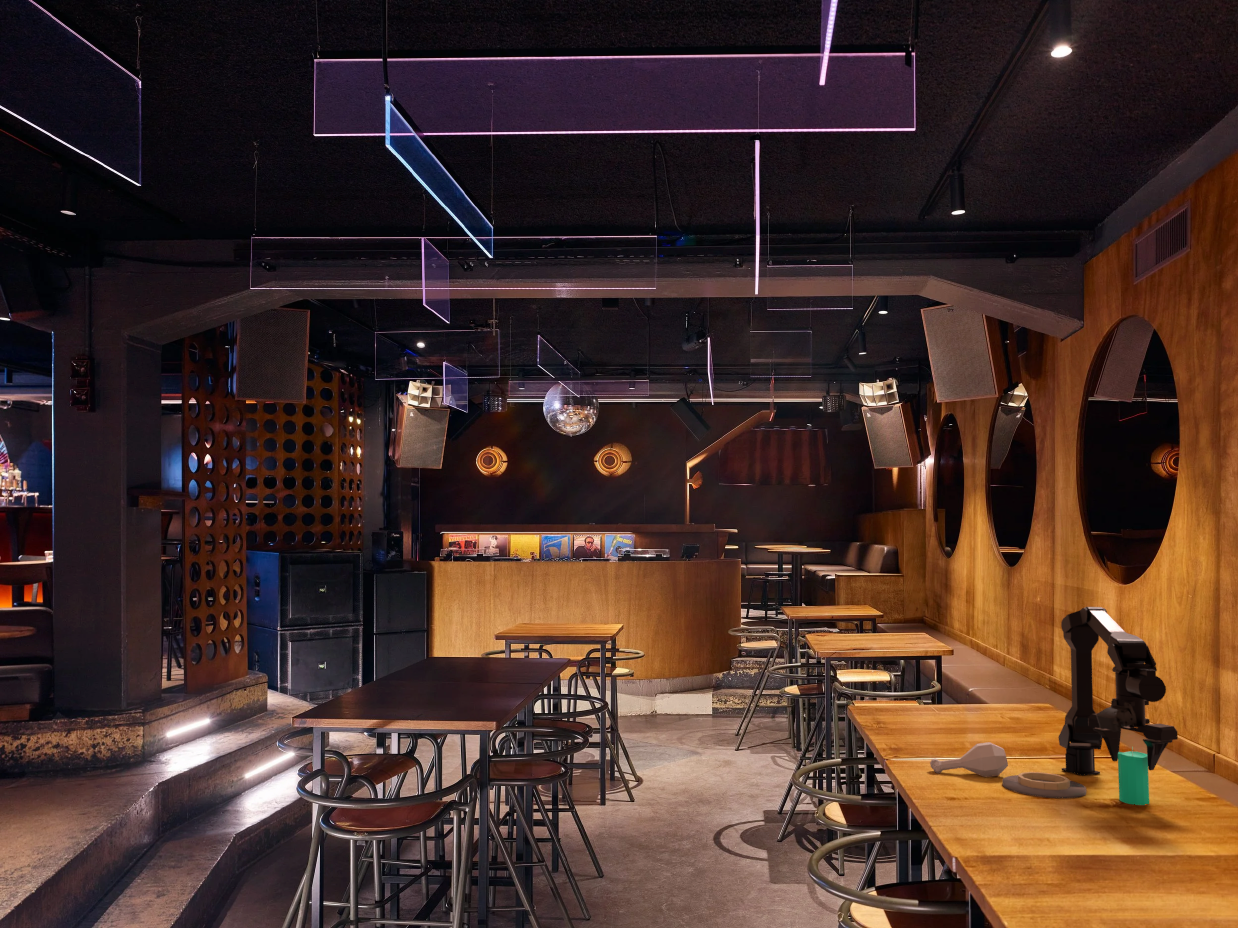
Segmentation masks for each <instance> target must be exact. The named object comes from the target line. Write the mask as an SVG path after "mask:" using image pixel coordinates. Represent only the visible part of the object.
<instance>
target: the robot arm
mask: <svg viewBox="0 0 1238 928" xmlns="http://www.w3.org/2000/svg"><path fill="white" fill-rule="evenodd" d="M1060 626H1061V631H1062V633H1063V639H1064V640H1065V642H1066V643H1067V645H1068V646H1069V648H1070V670H1071V672H1070V673H1071V676H1070V677H1071V679H1070V680H1071V682H1070V683H1071V707H1070V708H1069V710H1068V711H1067V713H1066V714H1065V717H1064V723H1063V726H1062V728H1061V730H1060V732H1059V735H1058V743H1059V746H1060V747H1062V748H1064V749H1065V758H1064V759H1065V767H1063V768H1061V771H1063V772H1067V773H1070V774H1074V775H1079V776H1082V777H1083V776H1091V775H1100V774H1101V771H1098V770H1096V769H1095V767H1096V766H1095V764H1096V763H1095V760H1096V759H1095V750H1099V751H1100V750H1101V749H1102V744H1103V741H1104V743H1105V745H1106V748H1107V750H1108V753H1109V756H1110V757H1111V760H1112V762H1114V763H1115V762H1118V752H1120V746H1121V737H1122V736H1121V735H1122V730H1127V731H1132V732H1135V733H1136V732H1137V733H1140V734H1143V736H1144V737H1145V738H1143V739H1142V741H1143V743H1144V744H1145V746H1146V754H1147V760H1148V771H1154V770H1155V768H1156V766H1157V763H1158V761H1159V760H1160V757H1161V756H1162V754H1163V752H1164V751H1165V749H1166V747H1167V746H1168V744H1169V743H1173V741H1176V740H1178V739H1179V738H1178V730H1177V728H1176V727H1175V726H1174V725H1169V724H1164V723H1150V718H1146V706H1149V705H1150V703H1157V702H1160V701H1161V700H1162V699H1163V698H1164V697H1165V695H1166V693H1167V686H1166V685H1165V682H1164V681H1163V680H1162V678H1160V677H1159V676H1157V675H1156V674H1157V671H1158V669H1157V662H1156V660H1155V659H1154V657H1153V654H1152V653H1151V651H1150V648H1149V646H1148V644H1147V643H1146V642H1145V640H1143V639H1142V638H1140V637H1139V636H1137V635H1135V634H1131V633H1128V632H1126V631H1125V630H1124V629H1123V628H1122V627H1121V626H1120V625H1119V624H1118V623H1117V622H1116V621H1115V620H1114V619H1113V618H1112V617H1111V616H1110V615H1109V614H1108V611H1107V609H1106V608H1105V607H1102V606H1085V607H1083V608H1081V609H1080V610H1078V611H1073V612H1071V613H1069V614H1066V616H1064V617H1063V618H1062V620H1061V624H1060ZM1100 639H1102V641H1103V642H1104V643H1105V644H1106V646H1107V652H1106V653H1107V655H1108V657H1109V659H1110V661H1111V662H1112V664H1113V665H1114V666H1113V667H1112V669H1111V671H1112V672H1114V676H1115V698H1111V701H1110V703H1111V705H1110V706H1109V707H1106V708H1104V709H1102V710H1101V711H1099V712H1096V711H1095V710H1094V702H1093V701H1094V699H1093V696H1094V695H1093V691H1094V690H1093V650H1094V648H1095V647H1096V645H1097V644H1098V642H1099V640H1100Z"/></svg>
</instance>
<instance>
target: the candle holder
mask: <svg viewBox="0 0 1238 928" xmlns="http://www.w3.org/2000/svg"><path fill="white" fill-rule="evenodd" d="M1001 782H1002V786H1003V787H1004V788H1005V789H1006V790H1009V791H1011V792H1015V793H1018V794H1022V795H1027V796H1032V797H1037V798H1038V797H1039V798H1048V799H1050V798H1051V799H1075V798H1081V797H1084V796H1086V795H1087V786H1085V785H1084V784H1081V783H1080V782H1077V781H1073V780H1070V779H1069V778H1067V777H1066V776H1064V775H1059V774H1056V773H1048V772H1042V771H1041V772H1039V771H1036V772H1035V771H1027V772H1020V773H1019V774H1015V775H1010V776H1005V777H1003V778H1002V781H1001Z"/></svg>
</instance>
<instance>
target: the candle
mask: <svg viewBox="0 0 1238 928" xmlns="http://www.w3.org/2000/svg"><path fill="white" fill-rule="evenodd" d="M1117 768H1118V769H1117V771H1118V772H1117V773H1118V775H1117V776H1118V794H1119V795H1118V798H1119V799H1118V800H1119V801H1120V802H1122V803H1125V804H1128V805H1134V804H1135V805H1136V806H1146V805H1145V804H1148V805H1150V783H1149V782H1150V781H1149V780H1150V779H1149V768H1148V760H1147V753H1144V752H1140V751H1135V750H1134V747H1133V746H1132V747H1131V750H1130V751H1125V752H1122V751H1119V752H1118V760H1117Z"/></svg>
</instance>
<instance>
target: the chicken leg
mask: <svg viewBox="0 0 1238 928" xmlns="http://www.w3.org/2000/svg"><path fill="white" fill-rule="evenodd" d="M1008 763H1009V762H1008V758H1007V755H1006V751H1005V749H1004V748H1003V747H1001V746H999V745H996V744H995V743H992V742H991V741H990V742H989V741H988V742H987V741H986V742H980V743H976V744H975V745H973V746H972V748H970V749H969V750H968V751H966V753H964V754H963V755H962V756H961V757H960V758H952V759H943V760H939V759H938V758H931V760H930V762H929V764H930V765H929V766H930V768H931V769H932V770H933V772H935V773H936V774H940V773H942V772H943V771H948V770H956V769H965V770H967V771H970V772H972V773H974V774H976V775H978V776H980V777H983V778H989V777H990V778H991V777H997V776H999V775H1001V774H1002V773H1003V771H1005V770H1006V769H1007V768H1008V766H1009V764H1008Z"/></svg>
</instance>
